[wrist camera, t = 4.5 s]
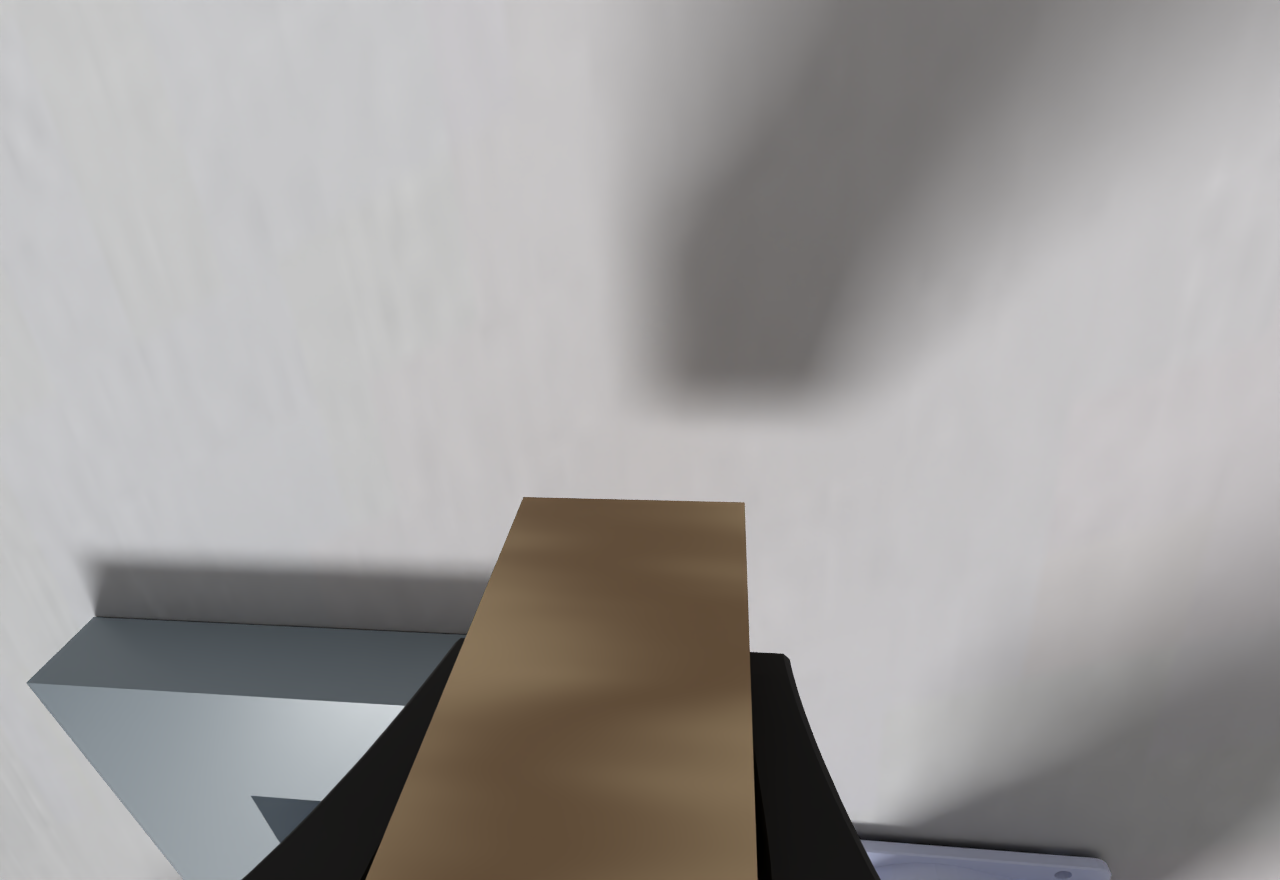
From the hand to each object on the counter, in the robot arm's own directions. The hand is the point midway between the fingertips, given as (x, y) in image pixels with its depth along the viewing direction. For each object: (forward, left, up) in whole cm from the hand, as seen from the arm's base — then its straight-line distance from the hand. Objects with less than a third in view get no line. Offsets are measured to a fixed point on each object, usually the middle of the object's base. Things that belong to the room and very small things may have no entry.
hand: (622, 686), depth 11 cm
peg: (0, 0, -2) cm, 2 cm away
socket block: (+10, +14, -6) cm, 18 cm away
